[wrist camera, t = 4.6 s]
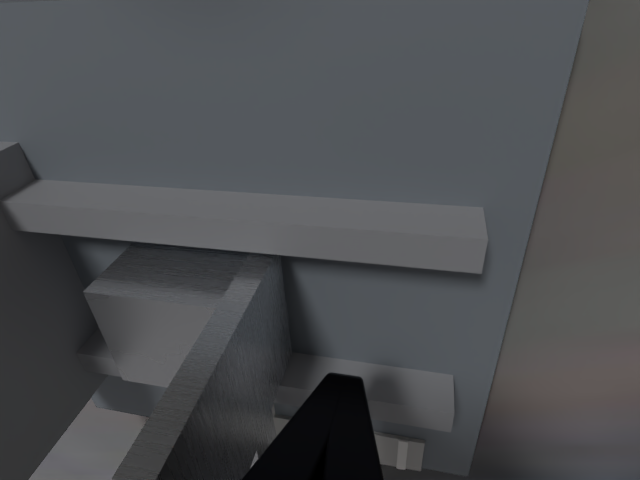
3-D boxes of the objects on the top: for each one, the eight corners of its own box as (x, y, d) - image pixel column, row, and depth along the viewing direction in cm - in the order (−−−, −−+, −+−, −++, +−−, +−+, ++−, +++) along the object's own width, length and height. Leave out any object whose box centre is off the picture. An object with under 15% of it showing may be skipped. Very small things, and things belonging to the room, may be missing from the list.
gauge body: (578, -25, 7) (1016, 85, 2) (466, 448, 15) (481, 750, 9) (-74, 2, 10) (-689, 75, 5) (111, 386, 18) (-38, 588, 12)
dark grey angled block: (279, 245, 10) (151, 487, 6) (300, 412, 14) (230, 644, 9) (130, 232, 11) (-86, 434, 7) (185, 392, 15) (70, 596, 10)
